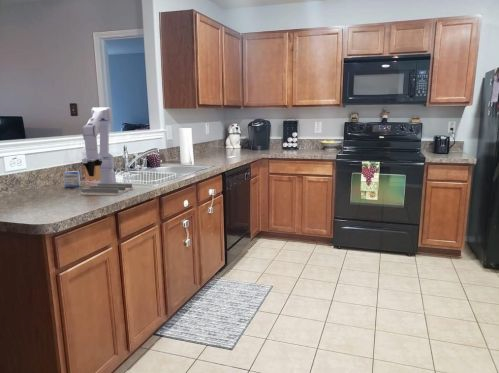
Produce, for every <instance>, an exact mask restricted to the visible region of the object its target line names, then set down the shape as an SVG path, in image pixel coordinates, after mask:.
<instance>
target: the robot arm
mask: <svg viewBox="0 0 499 373" xmlns="http://www.w3.org/2000/svg"><path fill="white" fill-rule="evenodd" d="M112 122H113V111H112V108H111V107H110V106H108V107H94V106H93V107H92V108H91V117H90V118H89V119H88V120H87V123H86V124H85V125H83V126H82V128H81V134H82V138H83V140H84V145H85V146H84V147H85V157H84V158H82V159H81V163H82V165H83V166H84V168H85V167H86V169H87V171H88V174H89V176H94V166H100V172H101V179H99V180H98V181H99V182H98V183H112V184H119V183H118V182H117V178H116V172H115V170H114V168H115V157H114V155H113V154H111V153H110V152H109V150H110V148H109V145H110V143H109V142H110V139H109V136H110V132H109V128H110V124H112ZM98 133H99V134H98ZM98 135H99V148H98ZM98 149H99V150H98Z"/></svg>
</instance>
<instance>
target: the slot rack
mask: <svg viewBox="0 0 499 373" xmlns="http://www.w3.org/2000/svg"><path fill="white" fill-rule="evenodd" d="M80 189H81V192H80V195H83V196H87V195H89V196H120V195H122V194H124V193H126V192H129V191H132V190H134V187H133V184H132V183H118V184H112V183H99V182H98V183H97V184H96V185H89V187H82V188H80Z"/></svg>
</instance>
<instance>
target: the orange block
mask: <svg viewBox="0 0 499 373" xmlns="http://www.w3.org/2000/svg"><path fill="white" fill-rule="evenodd" d="M84 171H85V172H84V174H85V181H99V179H101V172H100V166H94V176H89V174H88V171H87V169H86V167H85V166H84Z"/></svg>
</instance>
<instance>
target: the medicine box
mask: <svg viewBox="0 0 499 373" xmlns="http://www.w3.org/2000/svg"><path fill="white" fill-rule="evenodd" d="M62 175H63V182H64V188H65V187H68V188H76V187H78V188H79V187H81V184H82V183H81V176H80V170H75V171H73V170H72V171H71V170H70V171H64V172H63V174H62Z"/></svg>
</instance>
